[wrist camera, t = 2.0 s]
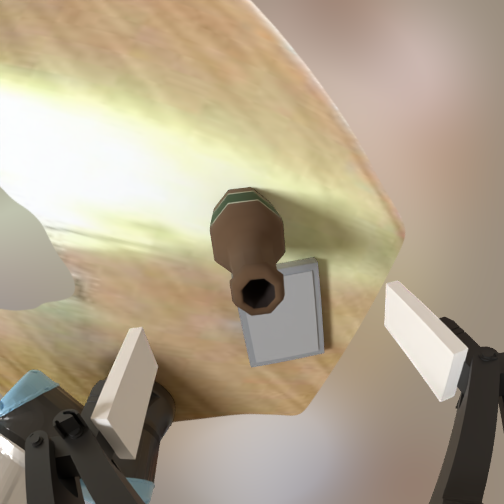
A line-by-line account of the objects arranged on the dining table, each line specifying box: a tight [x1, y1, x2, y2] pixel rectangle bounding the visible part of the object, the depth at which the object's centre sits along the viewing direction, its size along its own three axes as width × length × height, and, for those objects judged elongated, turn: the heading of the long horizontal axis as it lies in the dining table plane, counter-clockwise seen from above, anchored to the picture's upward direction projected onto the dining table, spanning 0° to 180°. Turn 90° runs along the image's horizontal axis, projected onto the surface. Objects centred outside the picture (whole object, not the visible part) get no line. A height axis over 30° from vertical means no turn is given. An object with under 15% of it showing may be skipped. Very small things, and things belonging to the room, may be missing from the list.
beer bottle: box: [210, 187, 285, 316], centre depth 31 cm, size 8×8×24 cm
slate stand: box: [232, 257, 324, 367], centre depth 47 cm, size 12×16×2 cm
